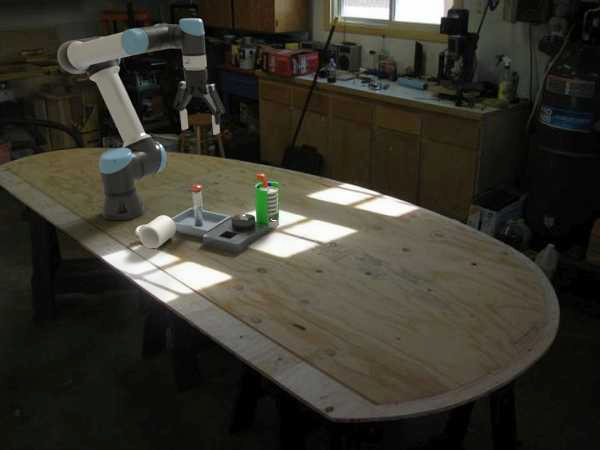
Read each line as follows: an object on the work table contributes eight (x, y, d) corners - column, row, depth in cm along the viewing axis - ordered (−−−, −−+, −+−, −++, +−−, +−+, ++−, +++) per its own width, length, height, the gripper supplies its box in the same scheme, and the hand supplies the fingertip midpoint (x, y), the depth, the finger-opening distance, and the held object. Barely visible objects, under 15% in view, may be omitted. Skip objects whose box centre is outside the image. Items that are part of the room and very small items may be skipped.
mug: (177, 238, 203) (175, 216, 200) (161, 250, 194) (159, 228, 191) (146, 233, 207) (143, 212, 203) (130, 246, 198) (126, 223, 195)
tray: (166, 229, 210) (165, 221, 209) (191, 214, 221) (191, 207, 220) (208, 239, 202) (207, 230, 201) (232, 223, 213) (231, 216, 212)
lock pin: (191, 225, 210) (187, 187, 205) (198, 221, 214) (194, 183, 208) (200, 227, 209) (197, 188, 203) (207, 223, 212) (204, 185, 206)
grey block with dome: (203, 244, 198) (201, 225, 195) (234, 224, 212) (233, 207, 210) (238, 252, 192) (237, 234, 189) (268, 231, 206) (267, 214, 204)
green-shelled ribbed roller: (275, 229, 208) (274, 180, 201) (253, 228, 210) (250, 179, 202) (281, 219, 216) (280, 171, 209) (260, 217, 218) (257, 170, 210)
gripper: (158, 67, 201) (165, 129, 209) (219, 72, 189) (223, 138, 198) (173, 64, 207) (179, 124, 215) (232, 69, 195) (236, 132, 204)
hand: (200, 131), depth 207 cm, fingers open, 13 cm apart
